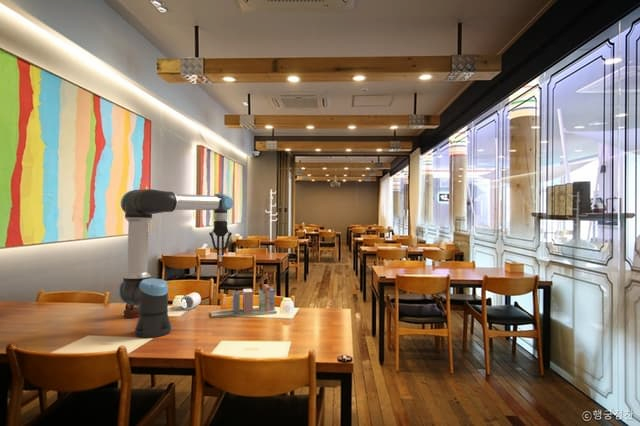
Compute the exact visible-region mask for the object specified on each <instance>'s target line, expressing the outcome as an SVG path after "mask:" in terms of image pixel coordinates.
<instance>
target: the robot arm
mask: <svg viewBox="0 0 640 426" xmlns="http://www.w3.org/2000/svg"><path fill="white" fill-rule="evenodd" d="M120 207H121V209H122V211H123V212H124V218H125V220H126V221H128V225H127V227H128V229H127V230H128V231H127V232H128V234H127V260H126V261H127V262H126V263H127V266H126V268H127V269H126V270H127V271H126V274H125V275H123V278H122V280H123V281H122V282H121V283H120V285H119V287H118V289H117V290H118V291H117V293H118V297H119V299H120V300H121V301H122V302H123V303H125V304H129V305H135V306H134V307H138V306H139V318H137V319H138V320H137V321H136V325H135V328H134V336H135V337H138V338H146V339H148V338H158V337H162V336H166V335H168V334H170V333H171V332H172V329H173V328H172V327H173V326H172V323H171V320H170V317H169V314H168V309H169V308H168V307H169V305H168V304H169V298H168V297H169V296H168V295H169V286H168V282H167V281H166V280H164V279H161V278H152V277H151V274H150V273H149V272H148V262H149V261H148V257H149V223H150V222H151V220H153V215H155V214H163V213H173V212H175V211H190V210H191V211H198V210H199V211H200V210H201V211H213V220H214V221H213V229H212V231H210V232H209V236H210V239H211V242H212V247H213V249H214V250H216V256H218V262H222V261H223V257H222V256H224V255H225V254H224V253H225V252H224V251H225V250H226V249H228V245H229V241H230V237H231V236H232V234H233V233H232V232H230V231H229V228H228V210H231V209H232V208H233V207H234V199H233V197H232V196H230V195H227V194H226V193H214V195H209V194H181V193H175V192H173V191H165V190H159V189H152V188H147V189H133V190H130V191H127V192H125V194H124V195H123V196H122V197H121V199H120ZM214 235H215V236H216V242H215V238H214ZM225 236H227V237H226V242H225ZM220 238H221V249H220Z"/></svg>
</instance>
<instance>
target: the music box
mask: <svg viewBox="0 0 640 426" xmlns="http://www.w3.org/2000/svg"><path fill="white" fill-rule="evenodd" d="M124 308H125V309H124V310H123V318H124V319H130V320H131V319H132V320H133V319H139V306H135V305H129V304H127V303H125V307H124Z"/></svg>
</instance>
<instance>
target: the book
mask: <svg viewBox="0 0 640 426" xmlns="http://www.w3.org/2000/svg"><path fill="white" fill-rule="evenodd" d="M253 308H254V291H253V290H252V288H243V289H242V309H243V311H244V313H253Z"/></svg>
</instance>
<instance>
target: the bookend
mask: <svg viewBox="0 0 640 426" xmlns="http://www.w3.org/2000/svg"><path fill="white" fill-rule="evenodd" d="M240 298H241V297H240V291H239V290H233V291H232V309H233V313H239V312H240V309H241V307H240Z"/></svg>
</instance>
